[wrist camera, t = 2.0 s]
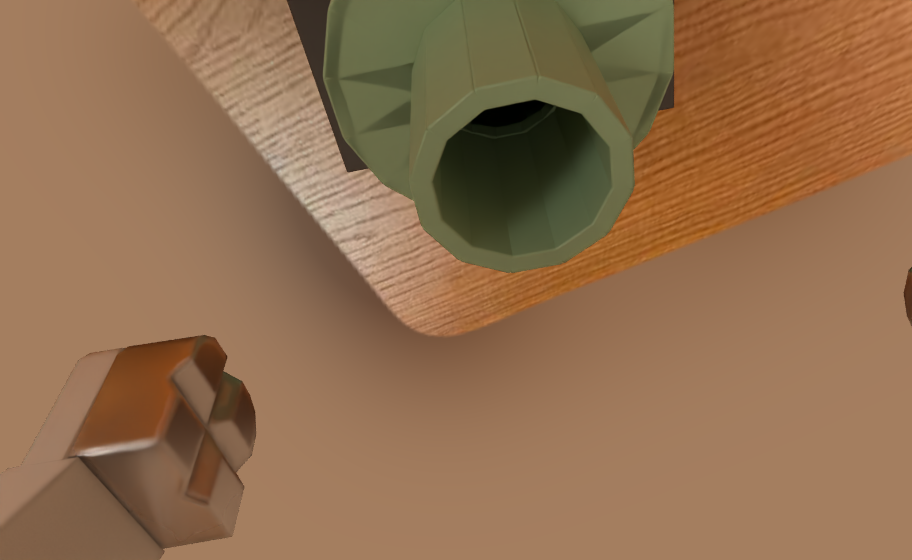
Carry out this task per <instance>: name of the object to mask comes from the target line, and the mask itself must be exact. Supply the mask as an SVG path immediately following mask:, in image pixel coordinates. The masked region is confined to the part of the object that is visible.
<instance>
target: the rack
mask: <svg viewBox="0 0 912 560" xmlns="http://www.w3.org/2000/svg"><path fill="white" fill-rule="evenodd" d="M330 1H331V0H287V2H288V5H289V8H290V10H291V13H292V16H293V19H294V22H295V25H296V28H297V30H298V33H299V36H300V39H301V42H302V45H303V48H304V50H305V53H306V56H307V59H308V62H309V65H310V68H311V70H312V73H313V76H314V79H315V82H316V85H317V87H318V90H319V93H320V96H321V99H322V102H323V105H324V107H325V110H326V113H327V116H328V119H329V122H330V125H331V127H332V130H333V133H334V136H335V139H336V142H337V145H338V147H339V150H340V153H341V156H342V159H343V162H344V164H345V167H346V170H347V172H353V171H358V170H363V169H368V166H367V165H366V164H365V163H364V162H363V161H362V160H361V158H360V157H359V156H358V155H357V154H356V153H355V152H354V150H353V149H352V148H351V147H350V146H349V145H348V144H347V143H346V141H345V140H344V138H343V136H342V134H341V131H340V128H339V125H338V122H337V119H336V116H335V113H334V110H333V107H332V104H331V101H330V98H329V96H328V93H327V90H326V87H325V84H324V81H323V65H324V52H325V39H326V26H327V13H328V8H329V5H330ZM673 4H674V0H673ZM673 107H674V71H673V75H672V78H671V80H670V83H669V85H668V87H667V90H666V92H665V95H664V97H663V100H662V102H661V105H660V107H659V110H664V109H669V108H673ZM659 110H658V111H659Z"/></svg>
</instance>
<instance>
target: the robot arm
mask: <svg viewBox="0 0 912 560" xmlns="http://www.w3.org/2000/svg"><path fill="white" fill-rule="evenodd" d="M904 298H905V306H906V312H907V317H908V319H909V321H910V324H911V326H912V267H911V268H910V270H909V271H908V276H907V280H906V285H905V289H904ZM226 360H227V355H226V354H225V352H224V351H223V349H222V348H221V346H220V345H219V343H218V342H217V340H216V339H215V338H214V337H210V336H206V335H202V336H195V337H188V338H182V339H175V340H168V341H162V342H156V343H148V344H142V345H136V346H129V347H127V348H120V349H114V350H108V351H101V352H94V353H90V354H88V355H86V356H85V357H83V358H81V359H80V360H78V362H77V363H76V365H75V367H74V369H73V371H72V372H71V374H70V376H69V378H68V380H67V382H66V384H65V385H64V387H63V389H62V391H61V393H60V394H59V396H58V398H57V400H56V402H55V403H54V405H53V407H52V409H51V411H50V413H49V415H48V417H47V418H46V420H45V422H44V424H43V425H42V427H41V429H40V431H39V433H38V435H37V436H36V439H35V440H34V442H33V444H32V446H31V447H30V449H29V451H28V453H27V455H26V457H25V459H24V460H23V462H22V464H21V466H19V467H13V468H7V469H6V470H5V471H4V472H2V474H0V560H159V559H160V558H161V557H162V555H163V554H164V550H163V549H164V548H170V547H176V546H181V545H187V544H193V543H199V542H204V541H210V540H216V539H222V538H227V537H232V536H233V532H234V528H235V524H236V519H237V515H238V511H239V507H240V503H241V499H242V494H243V490H244V485H243V483H242V482H241V480H240V479H239V477H238V475H237V474H236V472H237V471H238V470H239V469H240V467H241V466H242V465H243V464H244V463H245V462H246V461H247V460H248V458H250V456H251V455H252V452H253V447H254V443H255V438H256V422H255V410H254V406H253V403H252V400H251V397H250V394H249V393H248V391H247V389H246V387H245V386H244V384H243V382H242V381H240V380H239V379H237V378H235V377H233V376H231V375H229V374H228V373H226V372H224V371H223V370H224V367H225V363H226Z"/></svg>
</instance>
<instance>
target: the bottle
mask: <svg viewBox="0 0 912 560" xmlns="http://www.w3.org/2000/svg"><path fill="white" fill-rule="evenodd" d="M673 71H674V4H673V0H331V1H330V5H329V8H328V13H327V26H326V39H325V52H324V65H323V81H324V84H325V87H326V90H327V93H328V96H329V98H330V101H331V104H332V107H333V110H334V113H335V116H336V119H337V122H338V125H339V128H340V131H341V134H342V136H343V138H344V140H345V141H346V143H347V144H348V145H349V146H350V147H351V148H352V149H353V150H354V152H355V153H356V154H357V155H358V156H359V157H360V158H361V160H362V161H363V162H364V163H365V164H366V165H367V166H368V168H369V169H370V170H371V171H372V172H373V173H374V174H375V176H376V177H377V178H378V179H379V180H380V181H381V182H382V184H384V185H385V186H387V187H389V188H390V189H392V190H394V191H396V192H398V193H400V194H402V195H404V196H406V197H408V198H410V199H411V200H413V201H414V202H415V206H416V209H417V213H418V216H419V220H420V223H421V226H422V227H423V229H424V230H425V231H426V232H427V233H428V234H429V235H431V236H432V237H433V238H434V239H435V240H436V241H437V242H439V243H440V244H441V245H442V246H443V247H444V248H445V249H447V250H448V251H449V252H450V253H451V254H452V255H453V256H455V257H456V258H457V259H458V260H461V261H462V262H465V263H470V264H474V265H478V266H482V267H486V268H490V269H494V270H499V271H503V272H507V273H510V272H511V273H515V272H520V271H526V270H532V269H537V268H543V267H548V266H554V265H559V264H562V263H565V262H567V261H568V260H570V259H571V258H573V257H574V256H576V255H577V254H579V253H580V252H582V251H583V250H585V249H586V248H588V247H589V246H591V245H592V244H594V243H595V242H597V241H598V240H600V239H601V238H603V237H604V236H606V235H607V233H609V232H610V230H611V228H612V227H613V225H614V223H615V221H616V220H617V218H618V216H619V214H620V213H621V211H622V209H623V208H624V206H625V204H626V202H627V201H628V199H629V197H630V195H631V194H632V192H633V189H634V186H635V180H634V156H633V150H634V149H635V148H636V147H637V146H638V144H639V143H640V142H641V141H642V140H643V139H644V138H645V137H646V136H647V134H648V132H649V131H650V129H651V127H652V124H653V122H654V119H655V117H656V114H657V112H658V110H659V107H660V105H661V102H662V100H663V97H664V95H665V92H666V90H667V87H668V85H669V83H670V80H671V78H672V75H673Z"/></svg>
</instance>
